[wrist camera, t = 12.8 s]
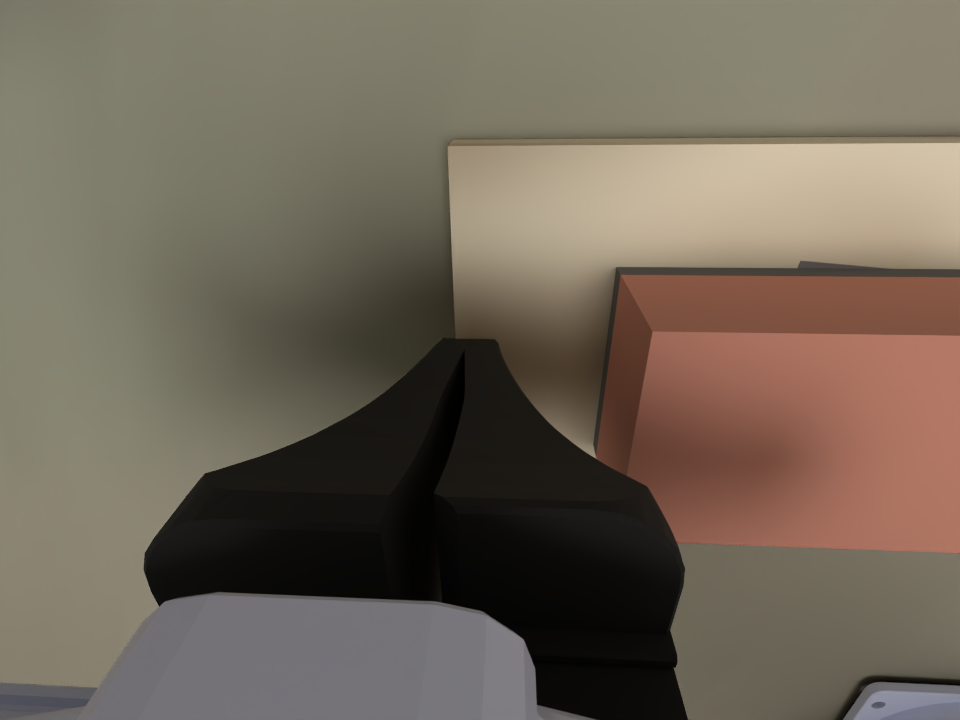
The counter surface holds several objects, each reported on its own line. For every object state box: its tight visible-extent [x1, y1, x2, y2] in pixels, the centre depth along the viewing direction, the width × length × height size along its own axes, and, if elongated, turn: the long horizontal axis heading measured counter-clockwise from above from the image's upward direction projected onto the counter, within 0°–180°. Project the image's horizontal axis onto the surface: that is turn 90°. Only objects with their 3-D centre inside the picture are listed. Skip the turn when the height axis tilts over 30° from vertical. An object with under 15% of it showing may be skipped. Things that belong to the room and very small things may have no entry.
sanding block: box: [593, 267, 960, 553], centre depth 11 cm, size 5×8×3 cm, turn 91°
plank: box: [448, 136, 960, 458], centre depth 12 cm, size 10×22×1 cm, turn 91°
